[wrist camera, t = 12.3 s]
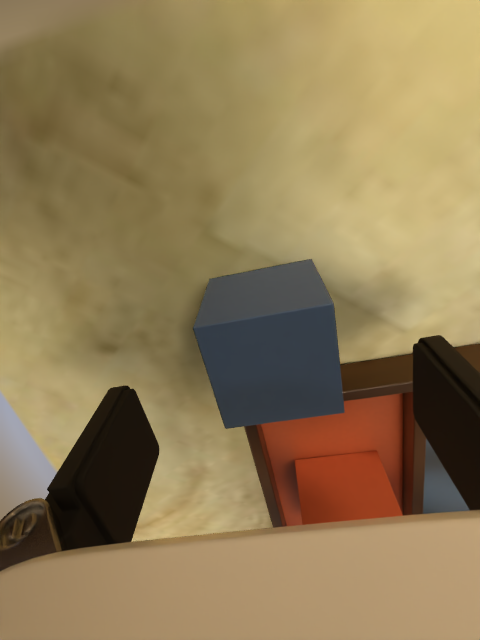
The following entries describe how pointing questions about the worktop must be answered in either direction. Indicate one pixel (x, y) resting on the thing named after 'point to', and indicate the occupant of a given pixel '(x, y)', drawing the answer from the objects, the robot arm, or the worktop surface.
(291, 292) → the slate-blue block
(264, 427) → the sorting tray
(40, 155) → the worktop surface
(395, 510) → the terracotta block
